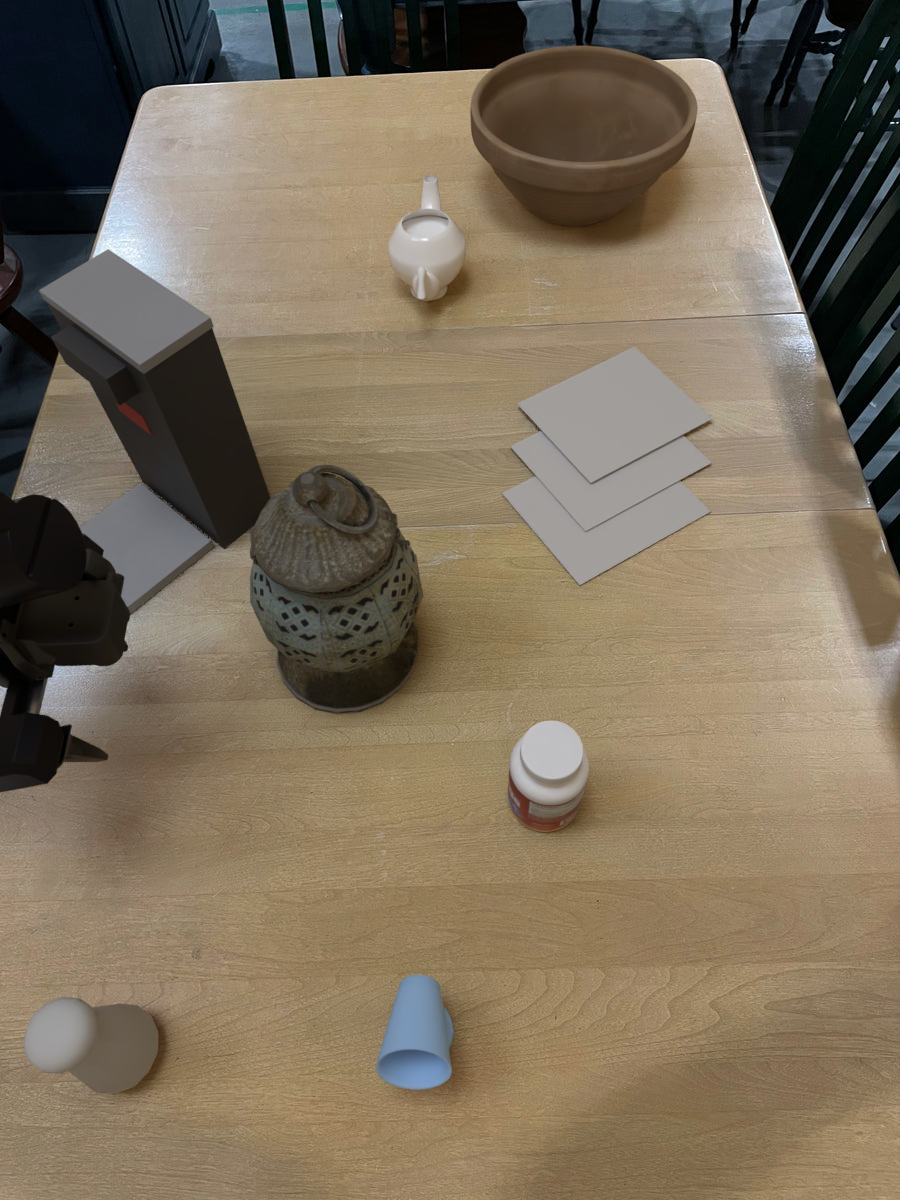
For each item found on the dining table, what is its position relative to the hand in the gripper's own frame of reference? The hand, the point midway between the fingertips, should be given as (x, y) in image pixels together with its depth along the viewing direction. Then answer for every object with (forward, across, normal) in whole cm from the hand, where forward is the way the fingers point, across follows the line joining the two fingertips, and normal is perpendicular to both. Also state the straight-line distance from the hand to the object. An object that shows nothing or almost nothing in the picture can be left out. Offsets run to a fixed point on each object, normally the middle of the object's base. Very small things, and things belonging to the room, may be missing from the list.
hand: (113, 702), depth 66 cm
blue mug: (+18, -23, -18) cm, 35 cm away
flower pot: (+25, +80, -41) cm, 93 cm away
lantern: (+16, +10, -12) cm, 23 cm away
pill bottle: (+21, -6, -28) cm, 36 cm away
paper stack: (+24, +32, -39) cm, 56 cm away
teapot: (+19, +62, -21) cm, 68 cm away
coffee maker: (+10, +26, +7) cm, 29 cm away
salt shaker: (+12, -23, +3) cm, 26 cm away
